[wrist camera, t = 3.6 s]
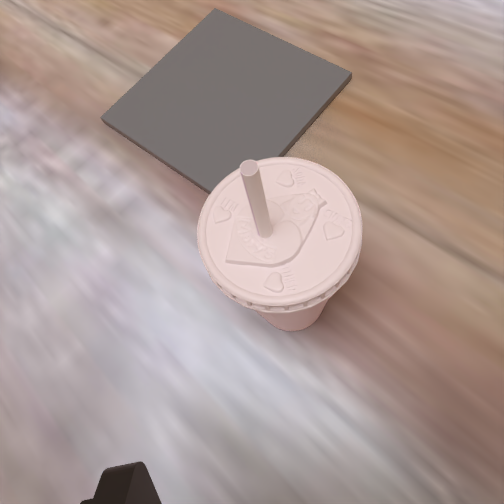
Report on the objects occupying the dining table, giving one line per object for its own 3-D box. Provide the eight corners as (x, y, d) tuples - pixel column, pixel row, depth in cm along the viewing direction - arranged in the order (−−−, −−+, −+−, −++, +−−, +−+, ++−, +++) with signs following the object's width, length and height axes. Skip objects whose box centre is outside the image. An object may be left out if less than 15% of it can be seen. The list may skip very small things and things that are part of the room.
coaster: (104, 122, 33) (100, 117, 32) (216, 14, 36) (214, 8, 35) (234, 211, 28) (233, 206, 28) (351, 79, 31) (351, 72, 30)
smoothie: (216, 289, 26) (120, 147, 13) (301, 229, 27) (287, 40, 14) (279, 379, 24) (235, 308, 11) (372, 310, 24) (431, 167, 12)
